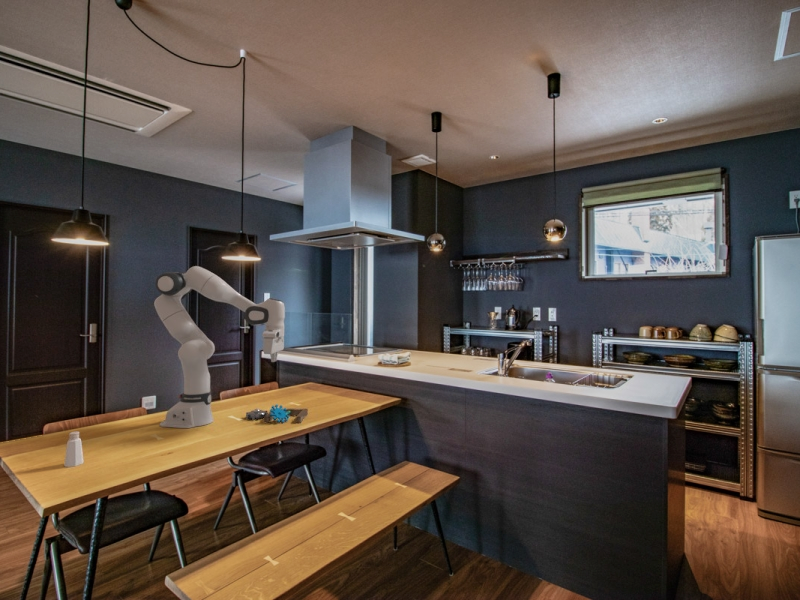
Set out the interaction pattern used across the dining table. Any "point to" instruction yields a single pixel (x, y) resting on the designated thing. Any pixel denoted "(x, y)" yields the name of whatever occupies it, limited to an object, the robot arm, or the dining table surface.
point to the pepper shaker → (74, 451)
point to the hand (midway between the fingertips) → (273, 361)
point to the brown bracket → (299, 412)
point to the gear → (279, 413)
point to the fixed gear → (256, 414)
